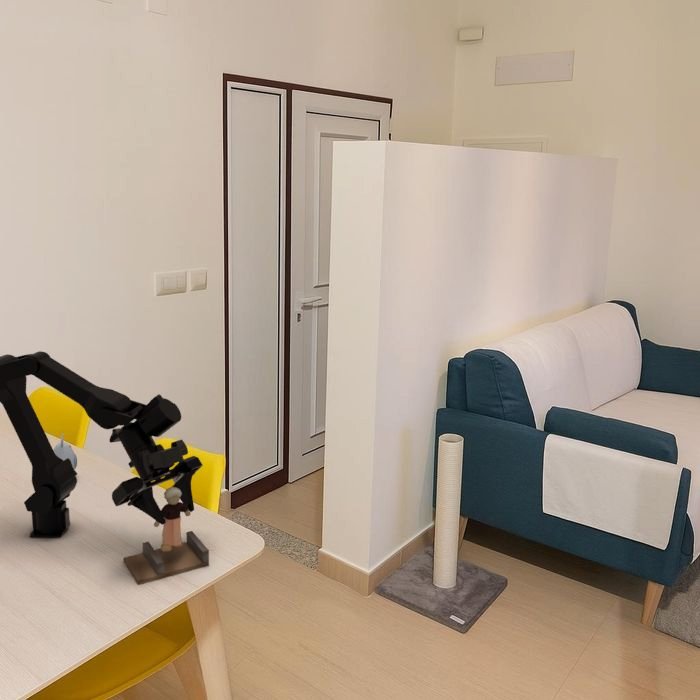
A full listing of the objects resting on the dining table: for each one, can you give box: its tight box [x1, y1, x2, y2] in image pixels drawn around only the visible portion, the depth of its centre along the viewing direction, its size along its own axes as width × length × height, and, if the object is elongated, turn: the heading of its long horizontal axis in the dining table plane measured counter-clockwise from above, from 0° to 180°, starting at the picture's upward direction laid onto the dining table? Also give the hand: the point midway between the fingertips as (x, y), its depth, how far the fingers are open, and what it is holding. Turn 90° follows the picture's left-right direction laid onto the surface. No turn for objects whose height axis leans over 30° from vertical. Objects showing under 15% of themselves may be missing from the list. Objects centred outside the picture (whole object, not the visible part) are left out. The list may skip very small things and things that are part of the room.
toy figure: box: [53, 433, 78, 471], centre depth 178 cm, size 11×6×12 cm, turn 19°
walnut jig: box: [122, 530, 210, 585], centre depth 145 cm, size 14×10×3 cm
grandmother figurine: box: [153, 486, 191, 551], centre depth 144 cm, size 8×4×13 cm, turn 143°
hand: (178, 517), depth 143 cm, fingers closed on grandmother figurine, 7 cm apart
